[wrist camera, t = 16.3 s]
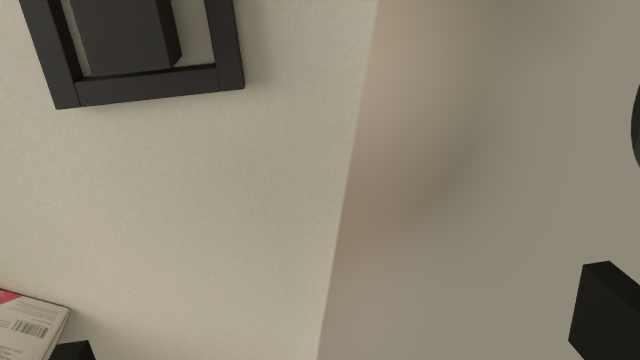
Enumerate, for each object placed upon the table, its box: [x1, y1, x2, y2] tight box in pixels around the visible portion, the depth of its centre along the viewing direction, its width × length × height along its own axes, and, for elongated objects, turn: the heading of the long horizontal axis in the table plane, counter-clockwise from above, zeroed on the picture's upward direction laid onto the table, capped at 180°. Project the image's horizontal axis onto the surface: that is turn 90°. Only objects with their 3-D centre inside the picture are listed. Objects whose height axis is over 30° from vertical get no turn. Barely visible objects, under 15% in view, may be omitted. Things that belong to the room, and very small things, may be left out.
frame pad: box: [19, 0, 245, 110], centre depth 31 cm, size 14×13×2 cm
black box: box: [70, 0, 182, 77], centre depth 30 cm, size 5×8×5 cm, turn 5°
